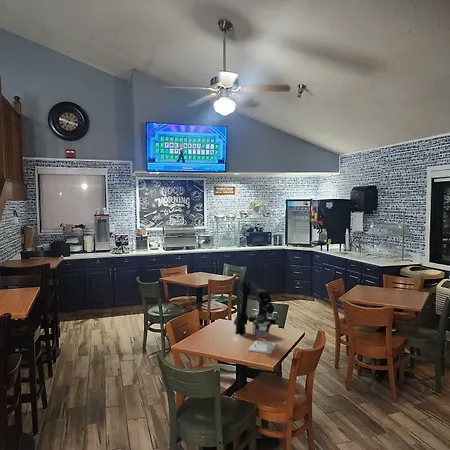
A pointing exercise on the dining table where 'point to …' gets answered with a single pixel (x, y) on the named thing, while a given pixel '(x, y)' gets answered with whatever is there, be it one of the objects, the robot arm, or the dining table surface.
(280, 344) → the dining table surface
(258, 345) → the tray
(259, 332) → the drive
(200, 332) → the dining table surface
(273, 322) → the robot arm
